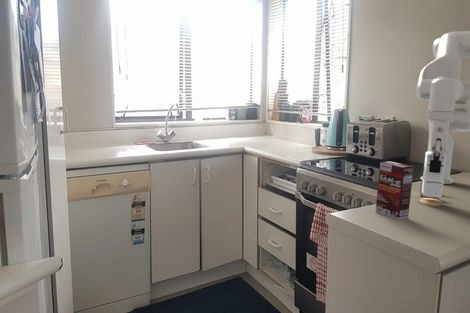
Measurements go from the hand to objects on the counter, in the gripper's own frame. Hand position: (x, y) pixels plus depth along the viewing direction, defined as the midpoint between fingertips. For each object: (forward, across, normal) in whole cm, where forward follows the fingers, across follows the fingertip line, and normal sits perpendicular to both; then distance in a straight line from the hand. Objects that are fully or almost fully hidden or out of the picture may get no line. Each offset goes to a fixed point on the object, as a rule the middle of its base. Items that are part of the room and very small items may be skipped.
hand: (434, 170), depth 130 cm
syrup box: (+9, 0, 0) cm, 9 cm away
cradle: (+11, +11, 0) cm, 16 cm away
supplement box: (+12, -22, +11) cm, 27 cm away
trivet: (+11, 0, 0) cm, 11 cm away
